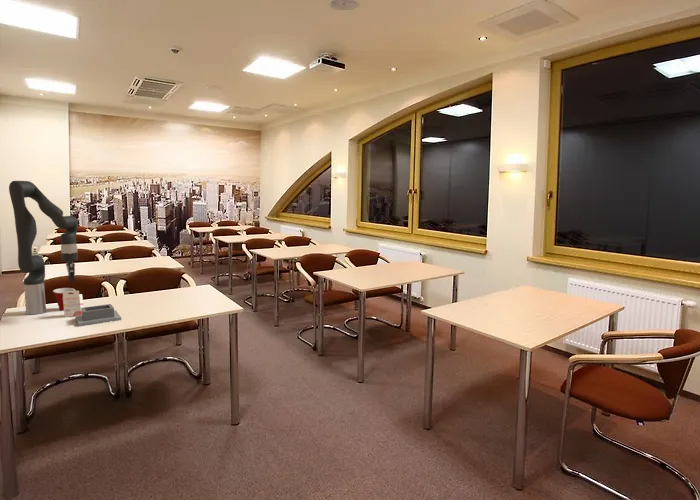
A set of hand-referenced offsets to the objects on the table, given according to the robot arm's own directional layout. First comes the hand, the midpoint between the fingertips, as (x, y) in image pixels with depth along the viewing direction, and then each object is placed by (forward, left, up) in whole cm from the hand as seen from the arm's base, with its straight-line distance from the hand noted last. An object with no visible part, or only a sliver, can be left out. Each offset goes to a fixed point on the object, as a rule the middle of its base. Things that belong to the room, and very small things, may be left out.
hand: (71, 280), depth 235 cm
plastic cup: (-3, +17, -21) cm, 27 cm away
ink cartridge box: (0, 0, -21) cm, 21 cm away
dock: (+10, -16, -20) cm, 28 cm away
